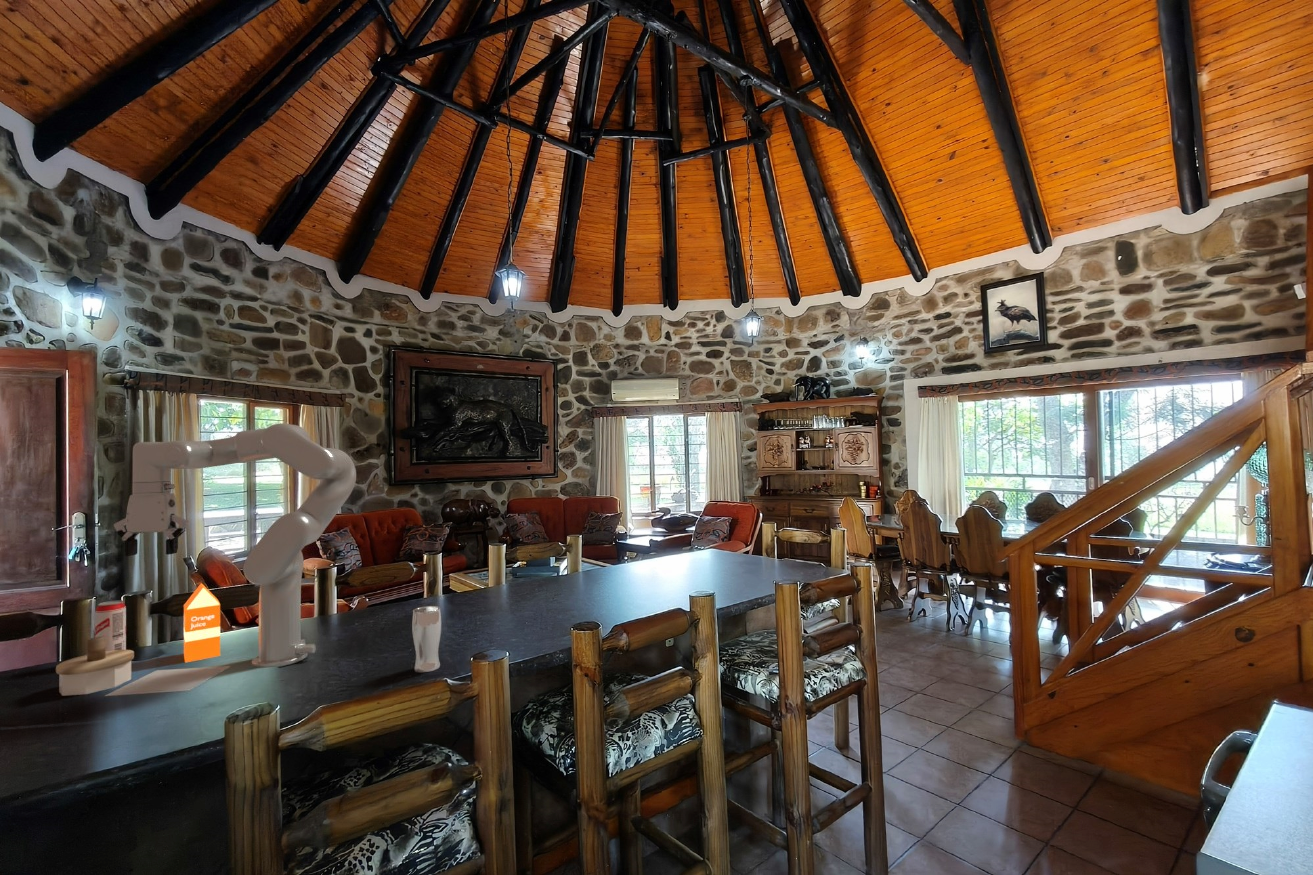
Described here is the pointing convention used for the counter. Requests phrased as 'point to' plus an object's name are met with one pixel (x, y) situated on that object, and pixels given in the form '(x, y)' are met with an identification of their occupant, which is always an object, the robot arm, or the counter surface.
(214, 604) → the orange juice
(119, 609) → the beer can
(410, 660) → the counter surface
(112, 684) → the bowl
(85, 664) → the lid
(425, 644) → the beer glass
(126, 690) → the mat
